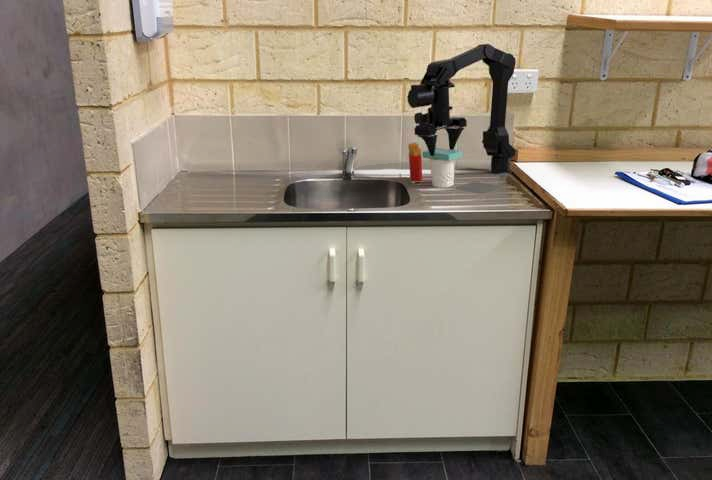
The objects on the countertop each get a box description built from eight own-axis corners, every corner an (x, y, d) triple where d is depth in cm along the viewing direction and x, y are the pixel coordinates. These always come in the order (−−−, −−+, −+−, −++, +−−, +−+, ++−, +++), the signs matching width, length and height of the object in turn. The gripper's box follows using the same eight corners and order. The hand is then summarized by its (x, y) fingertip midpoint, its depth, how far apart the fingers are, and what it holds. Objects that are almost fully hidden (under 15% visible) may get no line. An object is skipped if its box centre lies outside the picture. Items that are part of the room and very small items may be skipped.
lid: (436, 153, 200) (435, 147, 200) (462, 157, 192) (462, 150, 192) (422, 157, 196) (422, 151, 196) (448, 161, 188) (448, 154, 188)
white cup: (454, 190, 193) (453, 159, 190) (430, 191, 195) (428, 160, 192) (455, 184, 200) (455, 154, 197) (432, 184, 202) (430, 155, 199)
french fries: (422, 183, 205) (420, 145, 200) (410, 184, 205) (408, 146, 201) (422, 177, 213) (420, 140, 209) (410, 178, 214) (408, 141, 209)
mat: (473, 184, 198) (473, 181, 198) (503, 189, 189) (503, 186, 189) (453, 191, 192) (453, 188, 192) (483, 196, 183) (483, 193, 183)
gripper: (440, 99, 200) (442, 145, 205) (400, 107, 189) (403, 156, 194) (467, 99, 192) (468, 148, 197) (426, 108, 181) (429, 159, 186)
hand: (442, 153), depth 194 cm, fingers open, 9 cm apart
